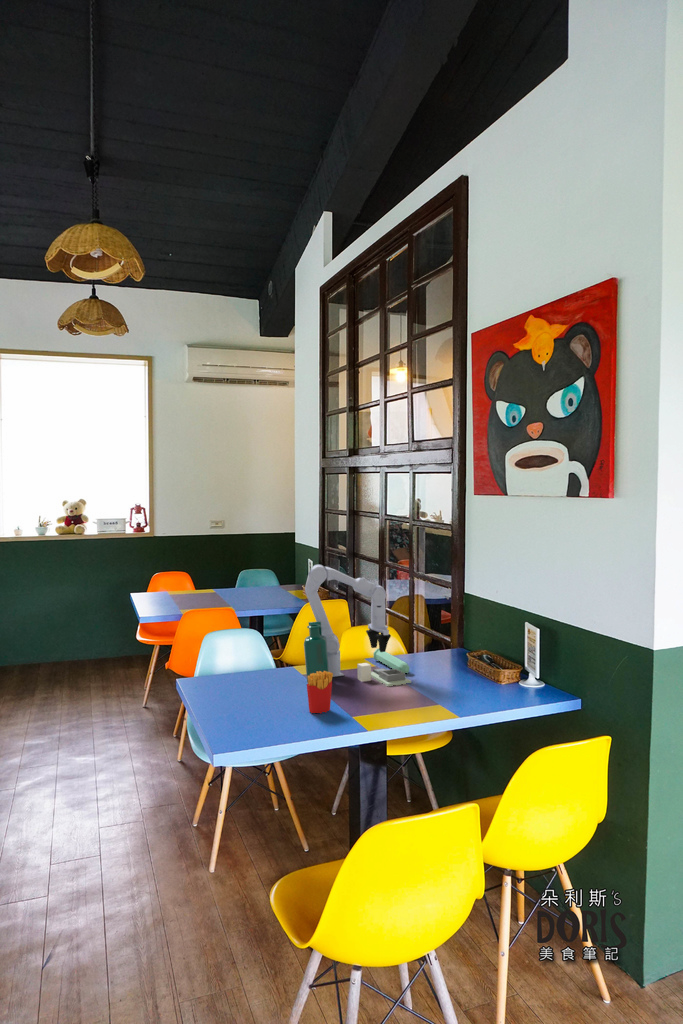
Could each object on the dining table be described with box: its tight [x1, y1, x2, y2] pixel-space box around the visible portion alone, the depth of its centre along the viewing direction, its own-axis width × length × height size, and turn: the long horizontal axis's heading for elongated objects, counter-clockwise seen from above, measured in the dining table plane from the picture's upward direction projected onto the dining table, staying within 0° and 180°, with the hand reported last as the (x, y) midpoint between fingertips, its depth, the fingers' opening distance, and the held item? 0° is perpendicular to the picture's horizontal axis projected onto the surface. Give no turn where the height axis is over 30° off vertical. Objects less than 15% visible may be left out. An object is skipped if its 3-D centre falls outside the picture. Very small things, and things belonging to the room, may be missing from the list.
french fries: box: [306, 671, 334, 714], centre depth 229 cm, size 9×4×13 cm, turn 122°
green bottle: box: [303, 621, 329, 684], centre depth 264 cm, size 10×8×22 cm
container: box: [373, 648, 410, 674], centre depth 284 cm, size 6×6×25 cm
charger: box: [356, 662, 372, 683], centre depth 266 cm, size 4×4×6 cm
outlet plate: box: [371, 667, 412, 687], centre depth 267 cm, size 10×18×3 cm, turn 23°
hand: (378, 649), depth 274 cm, fingers open, 7 cm apart
